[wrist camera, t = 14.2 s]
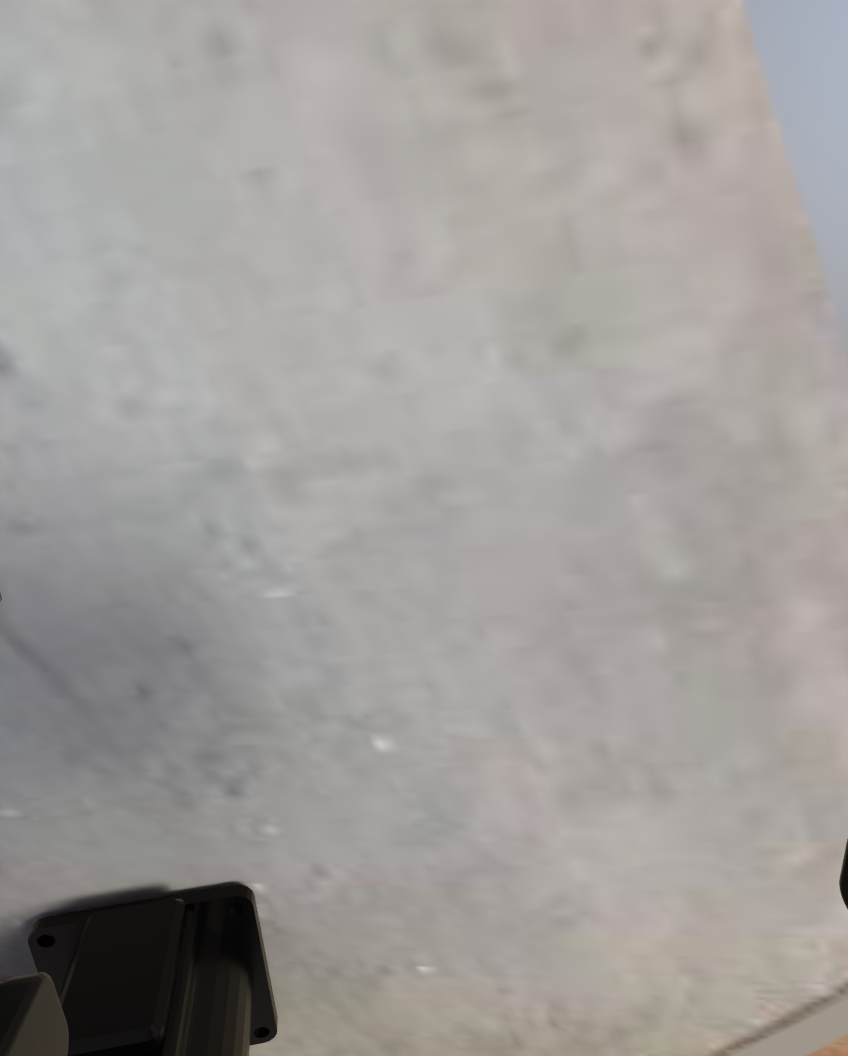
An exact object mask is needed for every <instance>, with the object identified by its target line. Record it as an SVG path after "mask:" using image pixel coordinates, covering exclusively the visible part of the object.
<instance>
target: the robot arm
mask: <svg viewBox="0 0 848 1056" xmlns="http://www.w3.org/2000/svg"><path fill="white" fill-rule="evenodd" d="M839 884H840V891H841V895H842V898H843V900H844V903H845V905H846V907H847V909H848V839H847V844H846V849H845V854H844V859H843V864H842V870H841V875H840V881H839ZM234 902H240V903H241V904H234ZM48 935H51V936H48ZM28 944H29V947H30V950H31V953H32V956H33V959H34V961H35V964H36V967H37V970H38V973H34V974H28V975H23V976H17V977H12V978H9V979H6V980H5V981H3V982H2V983H1V984H0V1056H249V1046H250V1045H255V1044H260V1043H264V1042H267V1041H270V1040H271V1039H273V1038H274V1037H275V1035H276V1034H277V1013H276V1007H275V1002H274V997H273V991H272V986H271V981H270V976H269V970H268V965H267V960H266V954H265V949H264V944H263V939H262V933H261V928H260V923H259V917H258V912H257V907H256V902H255V896H254V893H253V891H252V890H251V889H250V888H248V887H246V886H242V885H236V886H229V887H223V888H217V889H211V890H206V891H200V892H194V893H188V894H182V895H176V896H170V897H164V898H158V899H152V900H146V901H140V902H134V903H128V904H122V905H116V906H110V907H104V908H98V909H92V910H86V911H80V912H74V913H68V914H62V915H56V916H50V917H45V918H42V919H40V920H38V921H37V922H36V923H35V924H34V926H33V928H32V931H31V933H30V936H29V938H28Z"/></svg>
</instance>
